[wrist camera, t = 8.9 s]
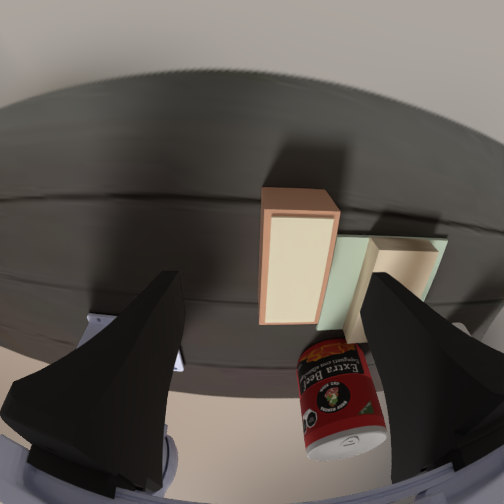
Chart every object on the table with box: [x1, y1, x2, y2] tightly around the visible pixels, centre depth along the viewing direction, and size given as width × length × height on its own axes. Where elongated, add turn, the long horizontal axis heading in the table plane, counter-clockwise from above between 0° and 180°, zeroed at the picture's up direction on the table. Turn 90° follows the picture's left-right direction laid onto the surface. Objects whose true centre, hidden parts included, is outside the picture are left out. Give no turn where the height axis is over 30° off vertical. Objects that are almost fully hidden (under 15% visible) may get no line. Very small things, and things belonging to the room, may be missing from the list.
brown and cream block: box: [258, 187, 340, 325], centre depth 20 cm, size 4×9×4 cm, turn 179°
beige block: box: [343, 236, 439, 344], centre depth 22 cm, size 6×10×2 cm, turn 178°
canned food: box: [296, 339, 387, 461], centre depth 24 cm, size 8×8×11 cm
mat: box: [316, 234, 448, 330], centre depth 23 cm, size 11×10×1 cm
